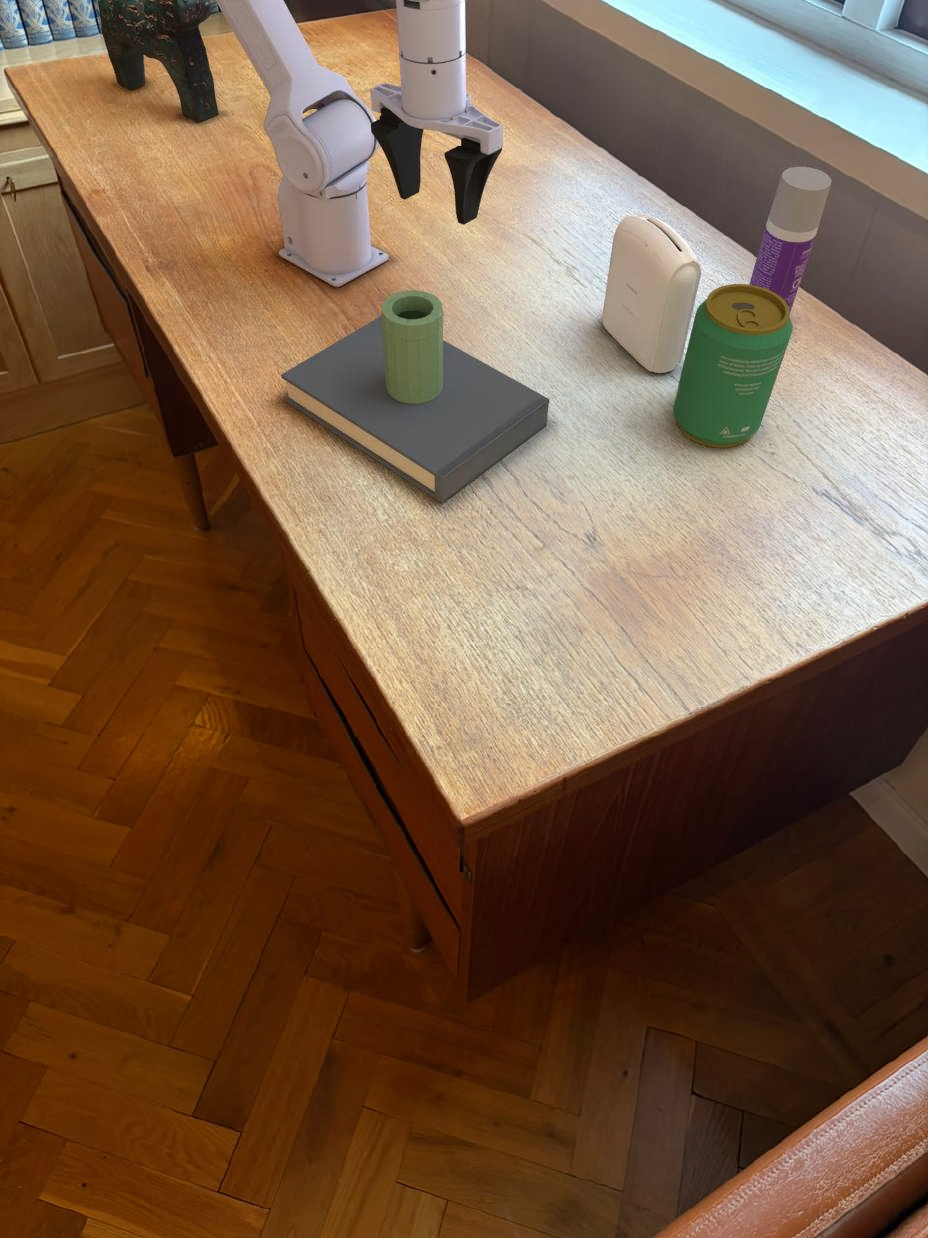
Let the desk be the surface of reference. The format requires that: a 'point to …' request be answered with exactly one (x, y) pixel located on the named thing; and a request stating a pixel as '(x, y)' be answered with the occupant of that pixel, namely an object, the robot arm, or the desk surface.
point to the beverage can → (731, 364)
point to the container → (791, 231)
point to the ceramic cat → (161, 47)
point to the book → (417, 412)
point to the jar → (413, 346)
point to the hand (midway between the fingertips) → (438, 207)
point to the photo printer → (650, 291)
